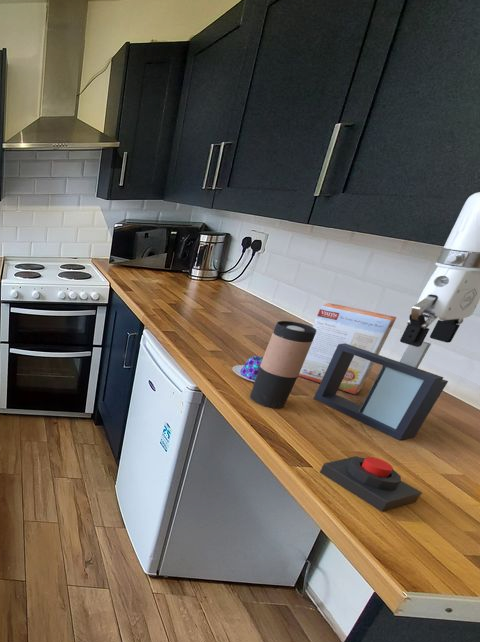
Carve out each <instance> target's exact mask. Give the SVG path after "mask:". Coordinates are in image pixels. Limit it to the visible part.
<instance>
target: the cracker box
mask: <svg viewBox="0 0 480 642" xmlns="http://www.w3.org/2000/svg"><path fill="white" fill-rule="evenodd" d="M397 318H398V317H397V316H393V315H389V314H384V313H379V312H374V311H370V310H366V309H360V308H355V307H351V306H345V305H341V304H335V303H331V302H328V303H325V304H323V305H321V306H320V308H319V310H318V313H317V316H316V317H315V320H314V323H313V324H312V327H313V328H315V329H316V334H315V337H314V339H313V341H312V344H311V346H310V349H309V351H308V354H307V356H306V358H305V361H304V363H303V366H302V368H301V371H300V373H299V375H298V377H301V378H304V379H306V380H310V381H313V382H316V383H319V384H320V383H321V381H322V379H323V377H324V374H325V372H326V370H327V368H328V366H329V363H330V361H331V359H332V357H333V355H334V353H335V350H336V348H337V346H338V344H345V343H346V344H349V345H352V346H354V347H357V348H360V349H363V350H366V351H369V352H372V353H375V354H378V355H380V352H381V350H382V348H383V346H384V345H385V343H386V341H387V338H388V337H389V334H390V332H391V330H392V328H393V326H394V324H395V322H396V320H397ZM375 364H376V363H375V362H372V361H369V360H366V359H364V358H361V357H358V356H355V355H354V357H353V359H352V361H351V363H350V365H349V368H348V370H347V372H346V374H345V376H344V378H343V380H342V382H341V384H340V386H339V388H338V391H339V390H340V391H343V392H345V393H348V394H352V395H356V394H357V393H359V392H360V391H361V390H362V389H363V387H364V385H365V383H366V381H367V379H368V377H369V375H370V373H371V371H372V369H373V367H374V365H375Z"/></svg>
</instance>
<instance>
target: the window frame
mask: <svg viewBox="0 0 480 642" xmlns="http://www.w3.org/2000/svg"><path fill="white" fill-rule="evenodd" d="M354 355H355V356H358V357H361V358H364V359H366V360H369V361H372V362H375V363H374V364H376V365H381V368H380V370H379V372H378V374H377V376H376V377H375V379H374V382H373V383H372V386H371V388H370V390H369V391H368V394H367V395H366V396H365V399H364V401H363V403H362V405H361V404H359V403H356V402H355V401H351V400H349V399H347V398H345V397H343V396H340V395H338V394H337V393H338V391H339V389H338V388H339V386H340V384H341V382H342V380H343V378H344V376H345V374H346V372H347V370H348V368H349V365H350V363H351V361H352V359H353V357H354ZM448 383H449V381H448V380H446V379H444V376H441V375H438V374H435V373H432V372H429V371H426V370H423V369H421V368H419V367H418V368H415V367H412V366H409V365H406V364H404V363H401V362H400V361H398V360H394V359H392V358H389V357H386V356H383V355H380V354H379V355H378V354H375V353H372V352H369V351H366V350H363V349H360V348H357V347H354V346H352V345H349V344H346V343H345V344H338V346H337V348H336V350H335V353H334V355H333V357H332V359H331V361H330V363H329V366H328V368H327V370H326V372H325V374H324V377H323V379H322V381H321V383H319V385H318V388H317V390H316V392H315V394H314V396H313V400H316V401H317V402H319V403H322V404H324V405H326V406H327V407H330V408H332V409H334V410H336V411H338V412H341V413H343V414H344V415H347V416H348V417H351V418H353V419H355V420H357V421H359V422H360V423H362V424H364V425H367V426H369V427H371V428H373V429H375V430H377V431H379V432H381V433H383V434H385V435H387V436H390V437H391V438H393V439H396V440H398V441H403V440H407V439H412V438H415V437H416V435H417V434H418V432H419V430H420V429H421V428H422V426H423V424H424V422H425V421H426V419H427V417H428V416H429V414H430V412H432V409H433V407H434V406H435V404H436V402H437V401H438V399H439V398H440V396H441V394H442V392H443V391H444V389H445V387H446V386H447V384H448Z"/></svg>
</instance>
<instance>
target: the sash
mask: <svg viewBox="0 0 480 642" xmlns="http://www.w3.org/2000/svg"><path fill="white" fill-rule="evenodd" d="M431 345H432V343H431V342H428V341H425V340H424V341H423V343H422V345H421V346H420V347H416V346H412V345H409V344H407V347H406V348H405V350H404V353H403V354H402V355H401V357H400V360H399V362H401V363H404V364H406V365H409V366H412V367H415V368H418V369H419V366H420V365H421V363H422V361H423V359H424V358H425V355H427V353H428V350H429V349H430V347H431Z"/></svg>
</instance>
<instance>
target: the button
mask: <svg viewBox="0 0 480 642" xmlns="http://www.w3.org/2000/svg"><path fill="white" fill-rule="evenodd" d="M364 458H365V460H364V462H363V464H362V465H361V467H362V468H363V469H364V470H366V471H368V472H370V473H371V474H374V475H377V476H379V477H385V478H387V477H389V475H390V473H391V472H392V470H394V467H393V466H392V465H391V464H390V463H389V462H387V461H385V460H383V459H380V458H378V457H374V456H366V457H364Z"/></svg>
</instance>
